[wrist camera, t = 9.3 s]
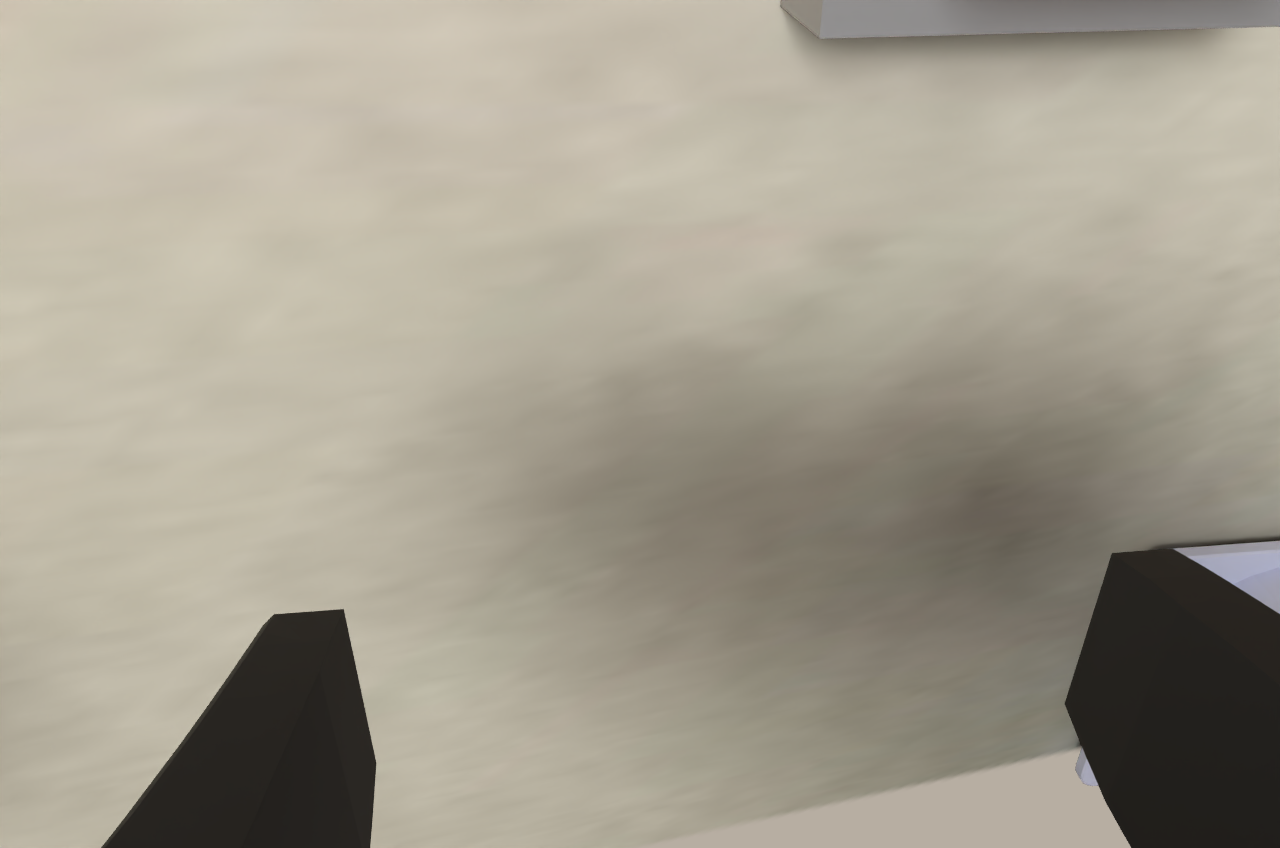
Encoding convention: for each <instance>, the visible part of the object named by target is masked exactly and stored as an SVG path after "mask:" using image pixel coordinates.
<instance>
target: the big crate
mask: <svg viewBox="0 0 1280 848" xmlns="http://www.w3.org/2000/svg"><path fill="white" fill-rule="evenodd" d="M781 7H782V8H783V9H784V10H785V11H787V12H788V13H789V14H790V15H791V16H793V17H794V18H795V19H796V20H798V21H799V22H800V23H801V24H802V25H804V26H805V27H806V28H807V29H808V30H810V31H811V32H812V33H813V34H814V35H816V36H817V37H818V38H819V39H826V38H864V37H902V36H941V35H979V34H1017V33H1056V32H1094V31H1132V30H1171V29H1209V28H1247V27H1280V0H781Z"/></svg>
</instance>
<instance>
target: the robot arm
mask: <svg viewBox="0 0 1280 848" xmlns="http://www.w3.org/2000/svg"><path fill="white" fill-rule="evenodd" d="M1065 706H1066V708H1067V711H1068V713H1069V716H1070V718H1071V721H1072V723H1073V726H1074V728H1075V731H1076V733H1077V736H1078V738H1079V741H1080V743H1081V746H1082V749H1081V752H1080V755H1079V757H1078V761H1077V763H1076V772H1077V774H1078V776H1079V778H1080V779H1081V781H1082V782H1083V783H1084V784H1087V785H1090V786H1098V785H1099V787H1100V790H1101V792H1102V795H1103V797H1104V799H1105V801H1106V803H1107V805H1108V807H1109V809H1110V810H1111V812H1112V814H1113V816H1114V818H1115V820H1116V821H1117V823H1118V825H1119V826H1120V829H1121V830H1122V832H1123V834H1124V836H1125V837H1126V839H1127V841H1128V843H1129V844H1130V846H1131V848H1280V541H1270V542H1256V543H1243V544H1229V545H1215V546H1202V547H1188V548H1174V549H1163V550H1149V551H1135V552H1122V553H1112V555H1111V558H1110V561H1109V565H1108V568H1107V571H1106V574H1105V577H1104V580H1103V584H1102V587H1101V590H1100V593H1099V596H1098V600H1097V603H1096V606H1095V609H1094V612H1093V615H1092V619H1091V622H1090V625H1089V628H1088V631H1087V634H1086V638H1085V641H1084V644H1083V647H1082V650H1081V654H1080V657H1079V660H1078V663H1077V666H1076V669H1075V673H1074V676H1073V679H1072V682H1071V685H1070V688H1069V692H1068V695H1067V698H1066V701H1065ZM375 774H376V760H375V755H374V750H373V745H372V741H371V736H370V731H369V727H368V722H367V717H366V713H365V708H364V703H363V698H362V694H361V689H360V684H359V680H358V675H357V670H356V665H355V661H354V656H353V651H352V647H351V642H350V637H349V633H348V628H347V623H346V618H345V614H344V609H341V610H328V611H314V612H300V613H287V614H274V615H273V616H272V617H271V618H270V619H269V620H268V621H267V622H266V623H265V624H264V625H263V626H262V628H261V629H260V631H259V632H258V634H257V635H256V637H255V638H254V640H253V641H252V643H251V644H250V646H249V647H248V649H247V650H246V652H245V653H244V654H243V656H242V657H241V659H240V660H239V662H238V663H237V665H236V666H235V668H234V669H233V671H232V672H231V673H230V675H229V676H228V678H227V679H226V681H225V682H224V684H223V685H222V686H221V688H220V689H219V691H218V692H217V694H216V695H215V696H214V698H213V699H212V701H211V702H210V704H209V705H208V706H207V708H206V709H205V711H204V712H203V713H202V715H201V716H200V718H199V719H198V720H197V722H196V723H195V725H194V726H193V727H192V729H191V730H190V732H189V733H188V734H187V736H186V737H185V738H184V740H183V741H182V743H181V744H180V745H179V747H178V748H177V749H176V751H175V752H174V753H173V755H172V756H171V757H170V759H169V760H168V761H167V763H166V764H165V765H164V767H163V768H162V769H161V771H160V772H159V773H158V775H157V776H156V777H155V779H154V780H153V781H152V783H151V784H150V785H149V786H148V788H147V789H146V790H145V792H144V793H143V794H142V796H141V797H140V798H139V800H138V801H137V802H136V804H135V805H134V806H133V808H132V809H131V810H130V812H129V813H128V814H127V816H126V817H125V818H124V820H123V821H122V822H121V823H120V825H119V826H118V827H117V828H116V830H115V831H114V832H113V834H112V835H111V836H110V837H109V839H108V840H107V841H106V842H105V844H104V845H103V846H102V847H101V848H370V842H371V830H372V817H373V802H374V788H375Z"/></svg>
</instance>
